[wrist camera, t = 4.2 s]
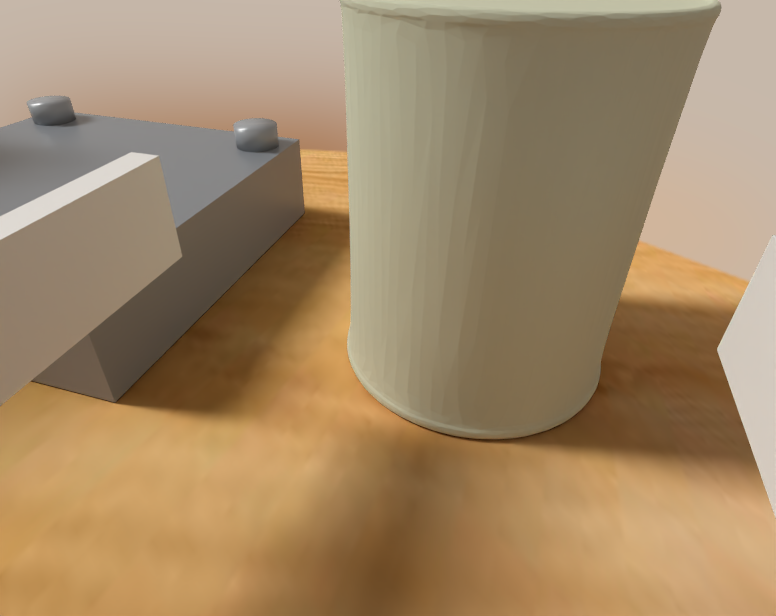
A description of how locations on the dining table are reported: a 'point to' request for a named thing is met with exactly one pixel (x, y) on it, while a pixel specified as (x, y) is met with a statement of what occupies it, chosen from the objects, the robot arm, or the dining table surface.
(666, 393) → the dining table surface
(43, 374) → the base brick
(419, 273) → the can
